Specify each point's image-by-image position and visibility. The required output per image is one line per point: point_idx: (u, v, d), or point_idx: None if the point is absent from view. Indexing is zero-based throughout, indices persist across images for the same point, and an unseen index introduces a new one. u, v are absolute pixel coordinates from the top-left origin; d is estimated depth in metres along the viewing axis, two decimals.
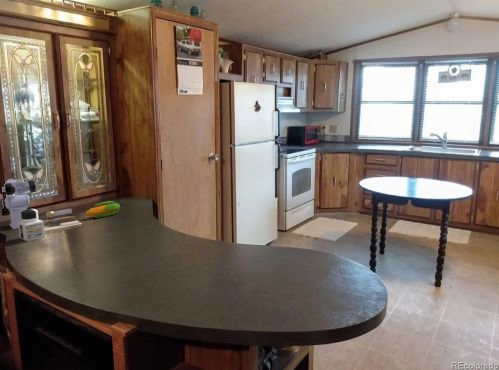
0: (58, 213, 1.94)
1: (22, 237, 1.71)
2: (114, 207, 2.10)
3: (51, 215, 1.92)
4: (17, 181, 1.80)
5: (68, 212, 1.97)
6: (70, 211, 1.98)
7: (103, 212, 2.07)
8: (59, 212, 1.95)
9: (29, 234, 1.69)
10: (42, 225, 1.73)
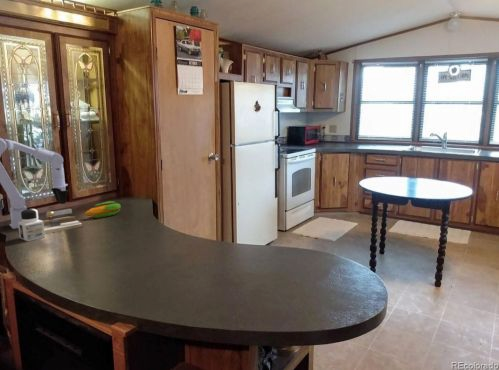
0: (58, 213, 1.94)
1: (22, 237, 1.71)
2: (114, 207, 2.10)
3: (51, 215, 1.92)
4: (65, 185, 2.01)
5: (68, 212, 1.97)
6: (70, 211, 1.98)
7: (103, 212, 2.06)
8: (59, 212, 1.95)
9: (29, 234, 1.69)
10: (42, 225, 1.73)
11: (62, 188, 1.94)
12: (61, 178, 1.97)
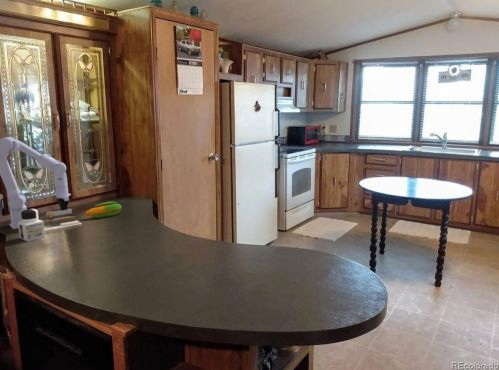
0: (58, 213, 1.94)
1: (22, 237, 1.71)
2: (114, 208, 2.09)
3: (51, 215, 1.92)
4: (69, 195, 1.99)
5: (68, 212, 1.97)
6: (70, 211, 1.98)
7: (103, 212, 2.06)
8: (59, 212, 1.95)
9: (29, 234, 1.69)
10: (42, 225, 1.73)
11: (65, 198, 1.92)
12: (64, 188, 1.95)
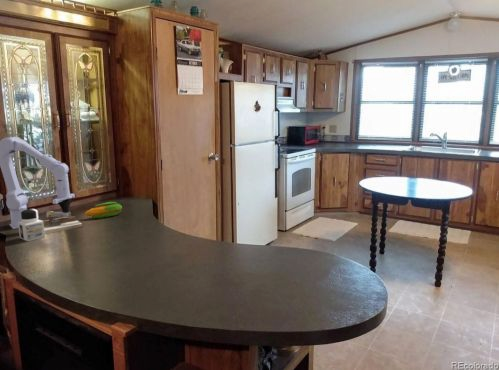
0: (56, 214, 1.92)
1: (22, 237, 1.71)
2: (114, 208, 2.08)
3: (48, 215, 1.91)
4: (68, 198, 1.91)
5: (65, 215, 1.91)
6: (67, 215, 1.91)
7: (103, 213, 2.05)
8: (56, 214, 1.91)
9: (29, 234, 1.69)
10: (42, 225, 1.73)
11: (53, 201, 1.85)
12: (60, 190, 1.89)
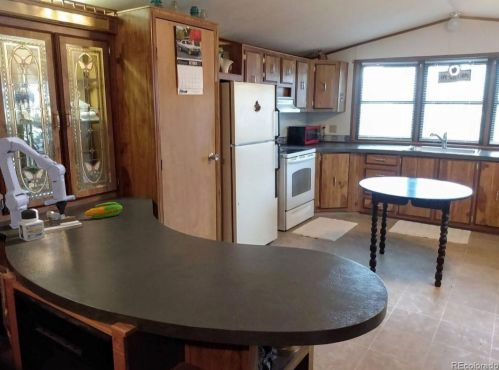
0: (52, 215, 1.90)
1: (22, 237, 1.71)
2: (114, 208, 2.08)
3: (47, 215, 1.91)
4: None
5: (59, 217, 1.88)
6: (60, 217, 1.87)
7: (103, 213, 2.05)
8: (53, 215, 1.90)
9: (29, 234, 1.69)
10: (42, 225, 1.73)
11: (44, 202, 1.83)
12: (54, 191, 1.86)
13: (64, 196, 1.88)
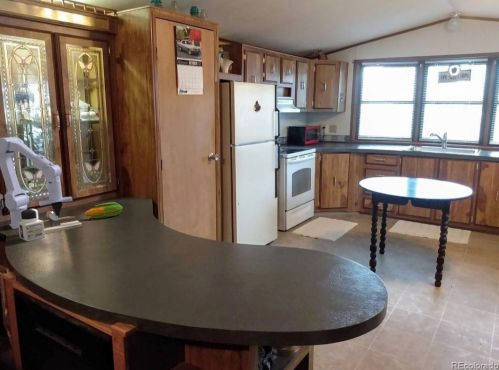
0: (50, 216, 1.90)
1: (22, 237, 1.71)
2: (114, 208, 2.07)
3: (47, 215, 1.92)
4: (56, 201, 1.84)
5: (52, 218, 1.86)
6: (53, 218, 1.85)
7: (102, 213, 2.05)
8: (50, 215, 1.89)
9: (29, 234, 1.69)
10: (42, 225, 1.73)
11: (39, 202, 1.83)
12: (49, 192, 1.84)
13: (59, 197, 1.85)
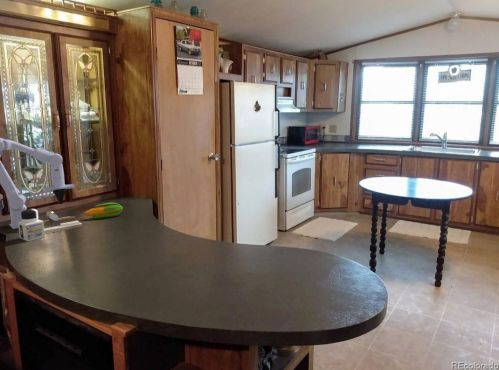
0: (50, 216, 1.90)
1: (22, 237, 1.71)
2: (114, 209, 2.06)
3: (47, 215, 1.92)
4: (59, 188, 1.94)
5: (52, 218, 1.86)
6: (53, 218, 1.85)
7: (102, 213, 2.04)
8: (50, 215, 1.89)
9: (29, 234, 1.69)
10: (42, 225, 1.73)
11: (43, 189, 1.92)
12: (52, 179, 1.93)
13: (62, 184, 1.95)
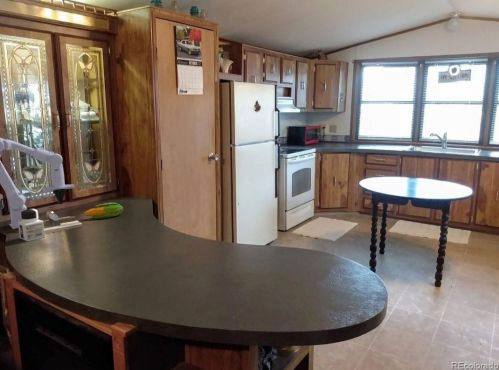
0: (50, 216, 1.90)
1: (22, 237, 1.71)
2: (114, 209, 2.06)
3: (47, 215, 1.92)
4: (59, 188, 1.94)
5: (52, 218, 1.86)
6: (53, 218, 1.85)
7: (102, 213, 2.04)
8: (50, 215, 1.89)
9: (29, 234, 1.69)
10: (42, 225, 1.73)
11: (43, 189, 1.92)
12: (52, 179, 1.93)
13: (62, 184, 1.95)
